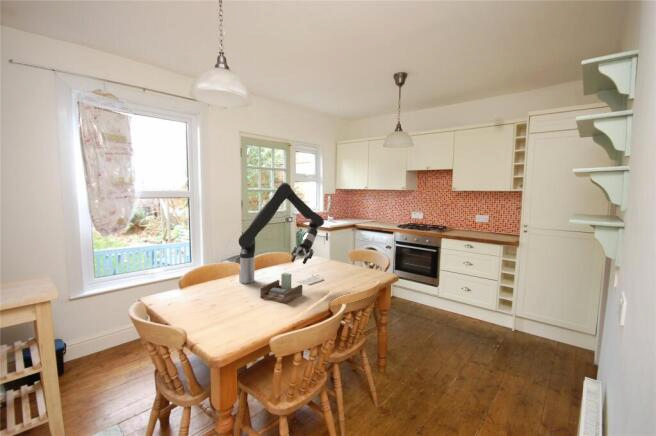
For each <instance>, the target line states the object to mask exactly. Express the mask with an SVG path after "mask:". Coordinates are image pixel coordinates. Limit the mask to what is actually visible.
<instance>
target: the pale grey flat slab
mask: <svg viewBox="0 0 656 436" xmlns="http://www.w3.org/2000/svg"><path fill="white" fill-rule="evenodd" d="M314 275H315V274H314ZM322 281H324V277H323V276H321V277H320V275H315V276H313V275H312V276H311V277H307V278H305V279H302V280H299V281H296V282H295V283H297V284H300V285H307V286H311V285H315V284H317V283H320V282H322Z"/></svg>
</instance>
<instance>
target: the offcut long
mask: <svg viewBox="0 0 656 436" xmlns="http://www.w3.org/2000/svg"><path fill="white" fill-rule="evenodd" d="M268 295H270V296H274V297H278V298H283V299H284V296H283V295H278V294H272V293H270V292H269V293H268Z"/></svg>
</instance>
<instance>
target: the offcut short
mask: <svg viewBox="0 0 656 436" xmlns="http://www.w3.org/2000/svg"><path fill="white" fill-rule="evenodd" d="M285 292H287V290H285V289H280V288H272V289H270V293H272V294H278V295H283V296H284V293H285Z"/></svg>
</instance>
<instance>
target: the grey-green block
mask: <svg viewBox="0 0 656 436" xmlns="http://www.w3.org/2000/svg"><path fill="white" fill-rule="evenodd" d="M280 276H281V278H280V279H281V281H280V283H281V285H280V286H281V289H285V290H287V291H289V290H291V288H292V273H287V272H284V273H281V275H280Z"/></svg>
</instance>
